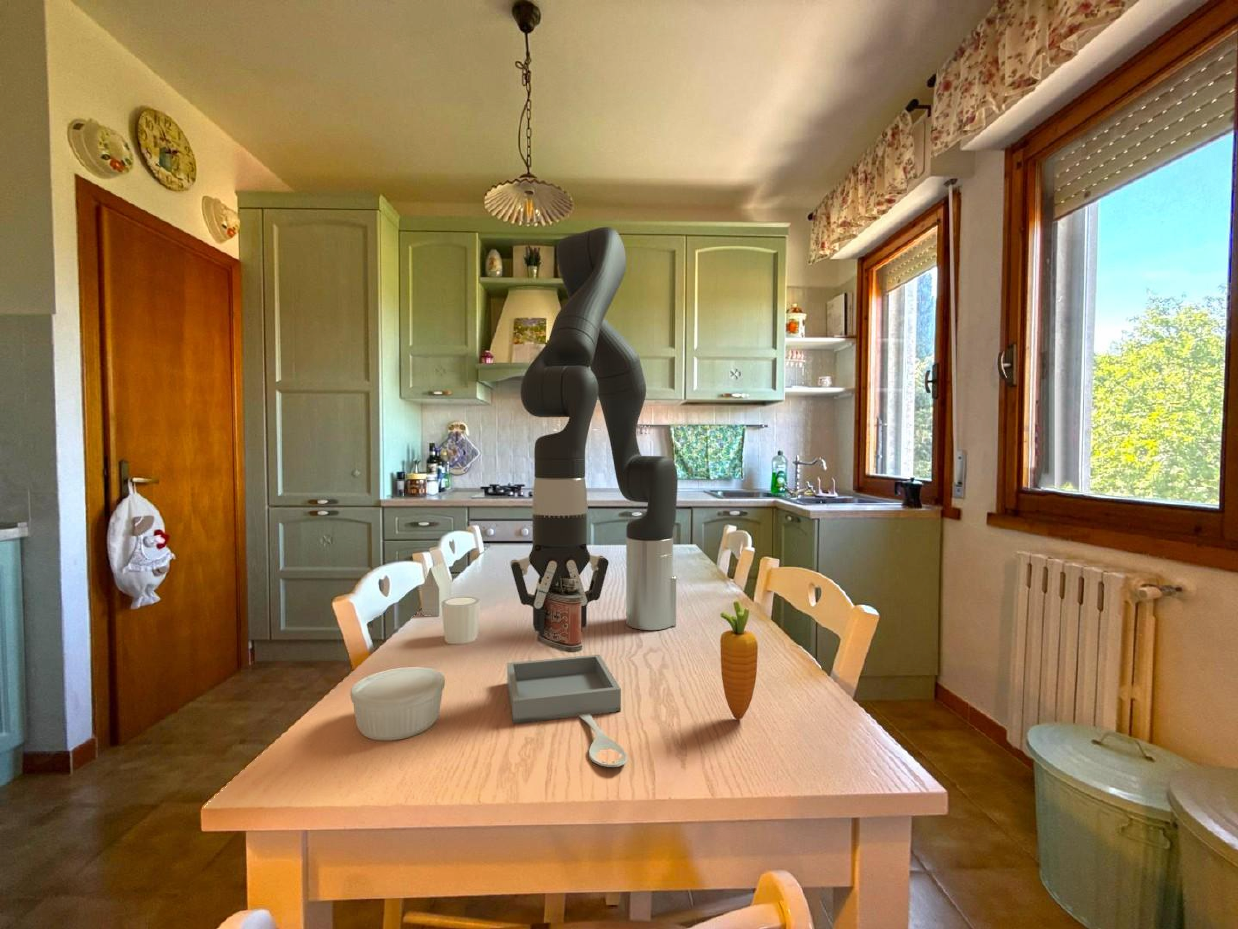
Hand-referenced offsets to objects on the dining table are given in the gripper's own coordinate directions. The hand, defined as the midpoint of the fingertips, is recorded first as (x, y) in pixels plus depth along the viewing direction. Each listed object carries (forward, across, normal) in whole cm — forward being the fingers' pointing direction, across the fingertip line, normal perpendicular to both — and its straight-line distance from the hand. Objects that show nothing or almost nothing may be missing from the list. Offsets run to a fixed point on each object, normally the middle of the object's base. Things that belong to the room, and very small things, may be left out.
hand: (559, 631), depth 80 cm
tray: (+9, 0, 0) cm, 9 cm away
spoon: (+10, -3, +10) cm, 15 cm away
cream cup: (+9, +14, -28) cm, 33 cm away
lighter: (+2, 0, 0) cm, 2 cm away
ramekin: (+10, +21, +3) cm, 23 cm away
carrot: (+9, -21, +12) cm, 26 cm away
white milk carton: (+9, +19, -48) cm, 52 cm away
